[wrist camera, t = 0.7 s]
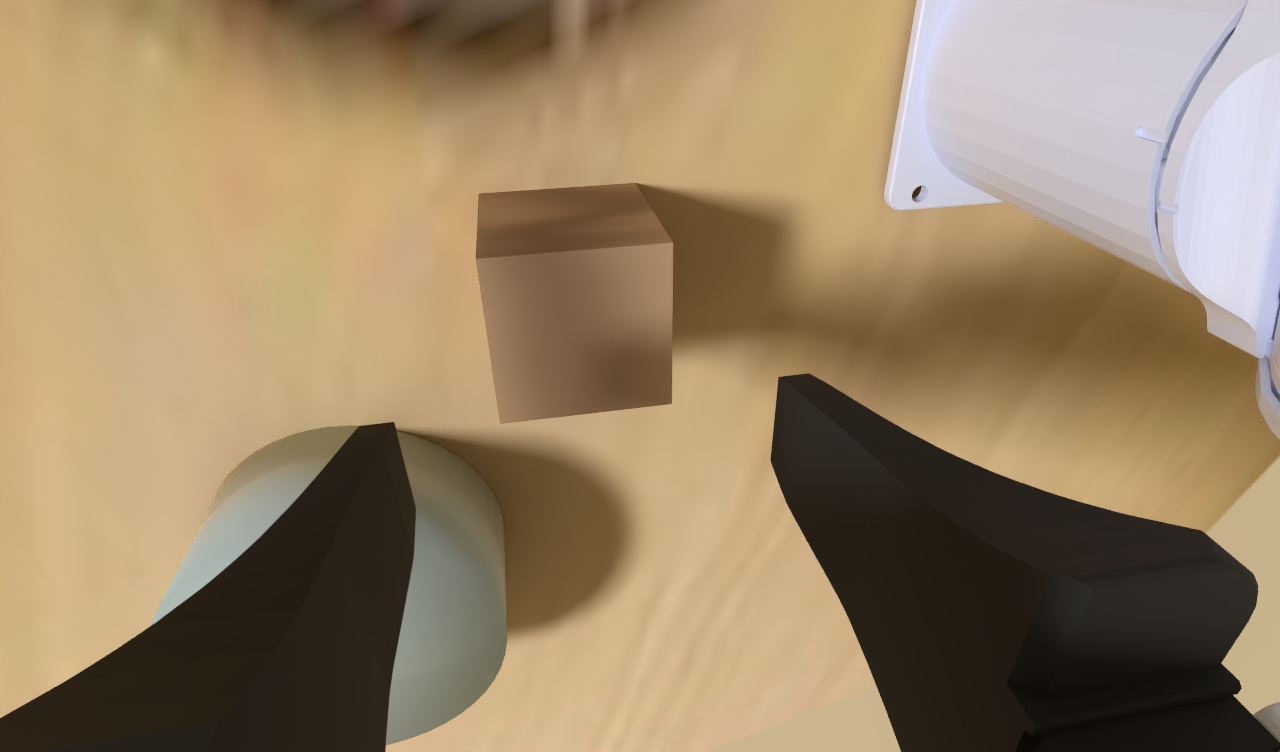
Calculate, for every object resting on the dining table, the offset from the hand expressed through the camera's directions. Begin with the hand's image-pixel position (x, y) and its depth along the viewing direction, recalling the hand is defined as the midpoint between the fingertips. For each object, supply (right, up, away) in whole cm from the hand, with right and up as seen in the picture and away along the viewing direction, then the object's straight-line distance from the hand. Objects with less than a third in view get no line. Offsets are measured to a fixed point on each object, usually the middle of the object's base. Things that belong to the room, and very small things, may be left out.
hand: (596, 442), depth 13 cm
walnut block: (-2, +5, +8) cm, 10 cm away
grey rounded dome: (-9, -5, +12) cm, 16 cm away
